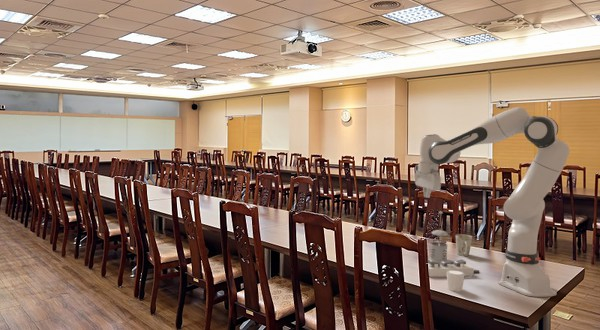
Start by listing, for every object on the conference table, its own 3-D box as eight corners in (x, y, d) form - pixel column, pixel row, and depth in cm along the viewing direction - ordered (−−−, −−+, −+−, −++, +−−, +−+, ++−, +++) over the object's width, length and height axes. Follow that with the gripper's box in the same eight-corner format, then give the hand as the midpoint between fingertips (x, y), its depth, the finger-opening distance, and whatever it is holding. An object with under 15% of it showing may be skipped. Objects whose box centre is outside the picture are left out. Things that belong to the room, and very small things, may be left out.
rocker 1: (439, 266, 197) (440, 263, 197) (430, 264, 196) (431, 261, 196) (436, 264, 200) (437, 261, 200) (427, 262, 199) (428, 259, 199)
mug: (468, 252, 238) (469, 234, 237) (475, 259, 225) (476, 240, 225) (452, 252, 239) (453, 233, 238) (458, 258, 226) (460, 239, 226)
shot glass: (449, 285, 183) (450, 268, 183) (466, 289, 179) (467, 272, 179) (443, 289, 178) (444, 272, 178) (460, 293, 174) (461, 276, 173)
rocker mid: (453, 264, 198) (452, 261, 198) (443, 266, 197) (443, 263, 197) (449, 262, 201) (449, 259, 201) (440, 264, 200) (440, 261, 200)
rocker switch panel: (483, 275, 198) (484, 264, 198) (427, 276, 194) (427, 265, 193) (473, 270, 206) (474, 259, 206) (419, 271, 202) (420, 260, 201)
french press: (428, 261, 218) (430, 211, 217) (428, 255, 229) (430, 208, 228) (448, 263, 215) (451, 213, 214) (448, 257, 226) (450, 209, 225)
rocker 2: (466, 264, 199) (465, 261, 199) (456, 266, 198) (456, 263, 198) (462, 262, 202) (461, 259, 202) (453, 264, 201) (452, 261, 201)
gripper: (445, 170, 199) (443, 200, 200) (425, 167, 219) (423, 194, 220) (432, 170, 198) (430, 200, 199) (413, 166, 218) (411, 194, 219)
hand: (426, 197), depth 210 cm, fingers closed
